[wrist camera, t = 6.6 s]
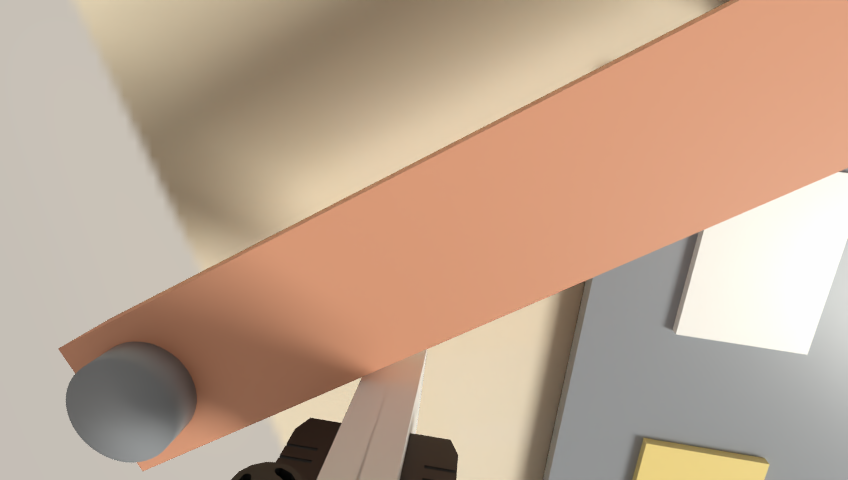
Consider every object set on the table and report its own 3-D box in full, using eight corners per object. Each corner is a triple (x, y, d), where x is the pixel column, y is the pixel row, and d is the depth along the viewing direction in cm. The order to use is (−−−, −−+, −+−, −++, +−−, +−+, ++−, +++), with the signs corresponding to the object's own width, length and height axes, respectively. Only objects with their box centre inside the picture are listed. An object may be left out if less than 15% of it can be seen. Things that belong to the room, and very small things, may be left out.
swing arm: (868, -80, 17) (1334, -301, 8) (905, 39, 18) (1373, -33, 8) (215, 257, 22) (26, 366, 13) (264, 338, 23) (118, 497, 14)
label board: (630, 74, 20) (641, 72, 19) (966, 116, 19) (1002, 116, 18) (521, 579, 26) (523, 604, 25) (771, 626, 25) (788, 655, 24)
